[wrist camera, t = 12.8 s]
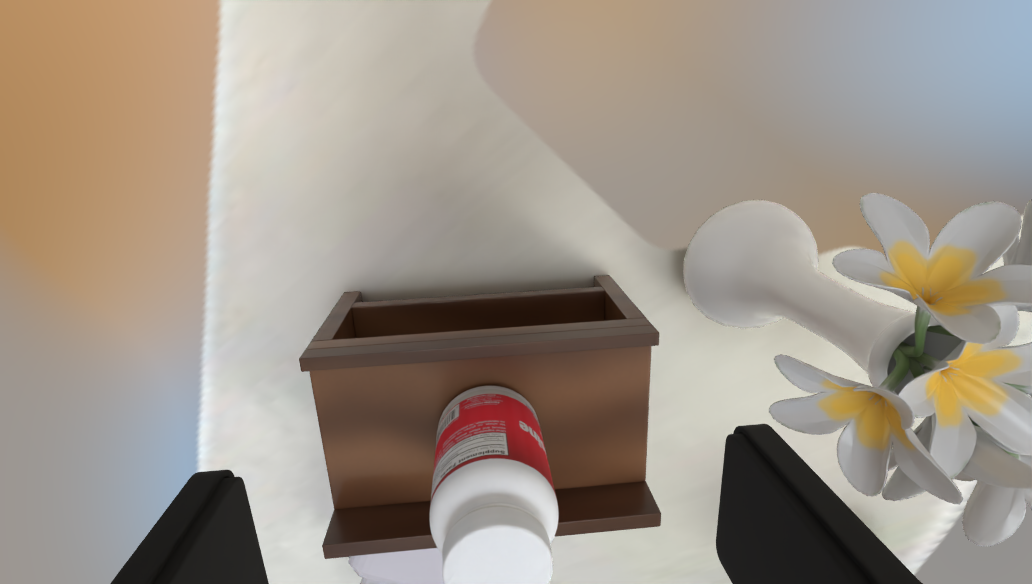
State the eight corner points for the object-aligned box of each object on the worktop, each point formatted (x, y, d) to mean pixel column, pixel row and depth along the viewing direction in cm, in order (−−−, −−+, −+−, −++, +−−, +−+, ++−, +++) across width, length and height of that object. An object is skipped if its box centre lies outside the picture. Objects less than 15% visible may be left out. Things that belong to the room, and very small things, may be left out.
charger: (337, 579, 48) (389, 442, 44) (435, 602, 50) (494, 472, 46) (323, 627, 44) (380, 480, 40) (431, 650, 46) (496, 511, 42)
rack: (343, 292, 40) (288, 374, 28) (609, 275, 41) (671, 345, 29) (365, 431, 44) (324, 559, 31) (607, 411, 45) (660, 526, 33)
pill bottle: (544, 459, 34) (579, 613, 24) (448, 477, 34) (440, 640, 23) (530, 372, 32) (561, 498, 22) (428, 391, 32) (408, 527, 21)
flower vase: (764, 375, 45) (1088, 662, 22) (593, 259, 41) (767, 462, 17) (874, 250, 43) (1382, 422, 19) (703, 109, 38) (1091, 107, 14)
